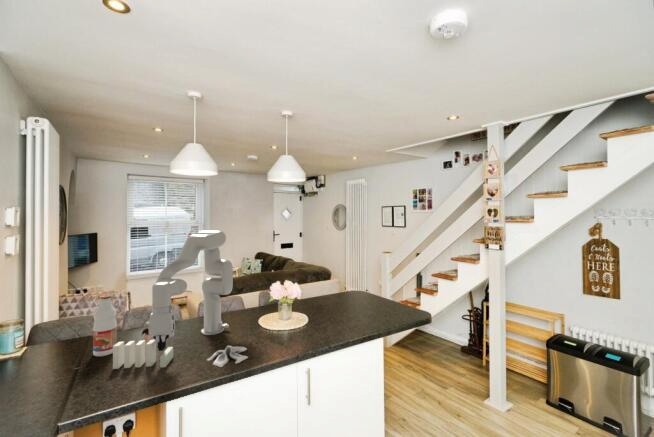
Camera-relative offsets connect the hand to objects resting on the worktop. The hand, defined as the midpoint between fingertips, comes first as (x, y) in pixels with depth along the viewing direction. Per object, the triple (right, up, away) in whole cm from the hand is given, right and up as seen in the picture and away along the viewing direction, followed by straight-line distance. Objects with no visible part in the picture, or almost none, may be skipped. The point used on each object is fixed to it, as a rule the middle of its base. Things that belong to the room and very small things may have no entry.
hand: (161, 349), depth 137 cm
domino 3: (-9, -6, -1) cm, 11 cm away
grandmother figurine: (-17, -6, +19) cm, 26 cm away
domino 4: (-4, -6, -1) cm, 8 cm away
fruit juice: (-34, -6, +11) cm, 36 cm away
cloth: (+27, -7, +6) cm, 29 cm away
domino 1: (-18, -6, -3) cm, 19 cm away
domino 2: (-13, -6, -2) cm, 15 cm away
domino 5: (+1, -4, +6) cm, 7 cm away
